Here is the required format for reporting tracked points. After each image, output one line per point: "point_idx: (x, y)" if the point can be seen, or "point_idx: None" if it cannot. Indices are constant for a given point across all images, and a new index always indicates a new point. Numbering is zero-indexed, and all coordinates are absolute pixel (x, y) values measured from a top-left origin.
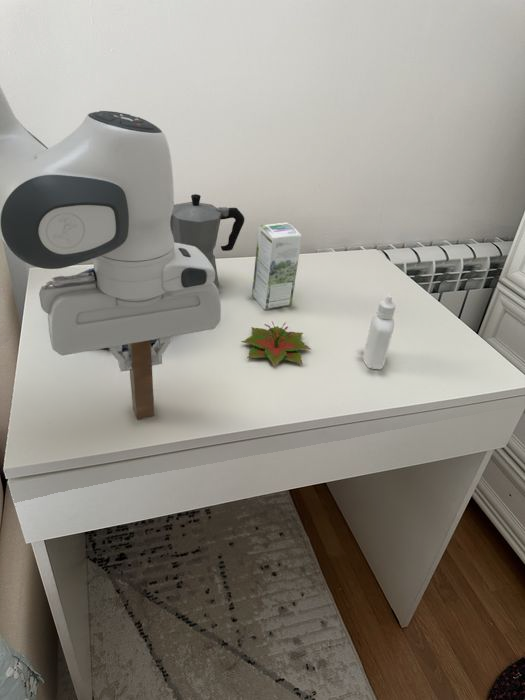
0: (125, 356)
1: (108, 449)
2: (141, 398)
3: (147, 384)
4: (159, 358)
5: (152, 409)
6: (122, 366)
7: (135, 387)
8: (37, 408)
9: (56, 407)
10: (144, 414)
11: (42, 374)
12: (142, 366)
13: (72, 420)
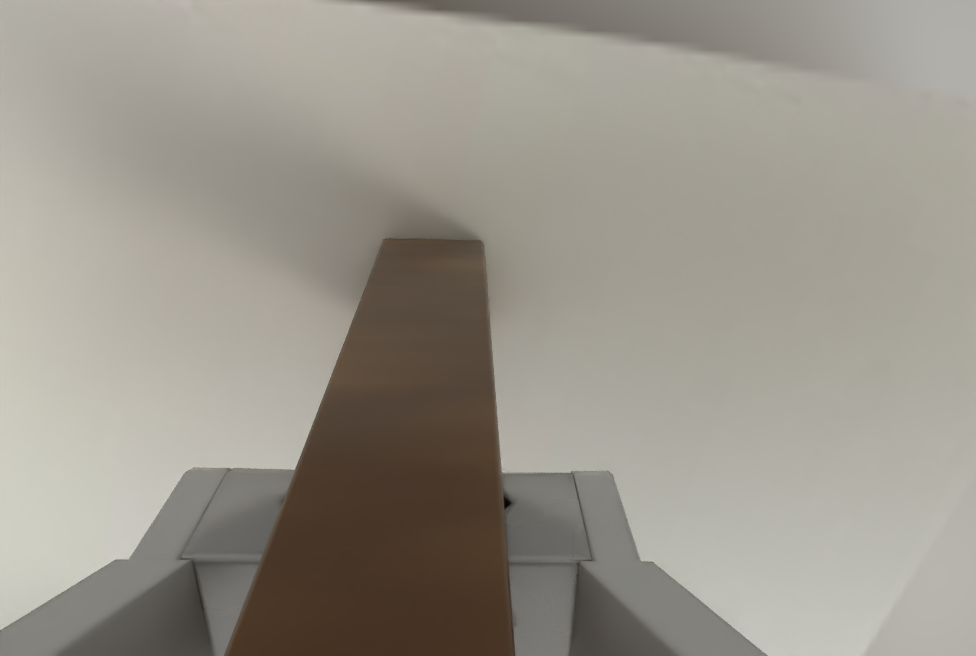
0: (557, 622)
1: (702, 65)
2: (447, 295)
3: (386, 348)
4: (187, 517)
5: (387, 254)
6: (608, 510)
7: (485, 346)
8: (888, 470)
9: (813, 451)
10: (439, 247)
11: (783, 646)
12: (399, 467)
13: (783, 347)
